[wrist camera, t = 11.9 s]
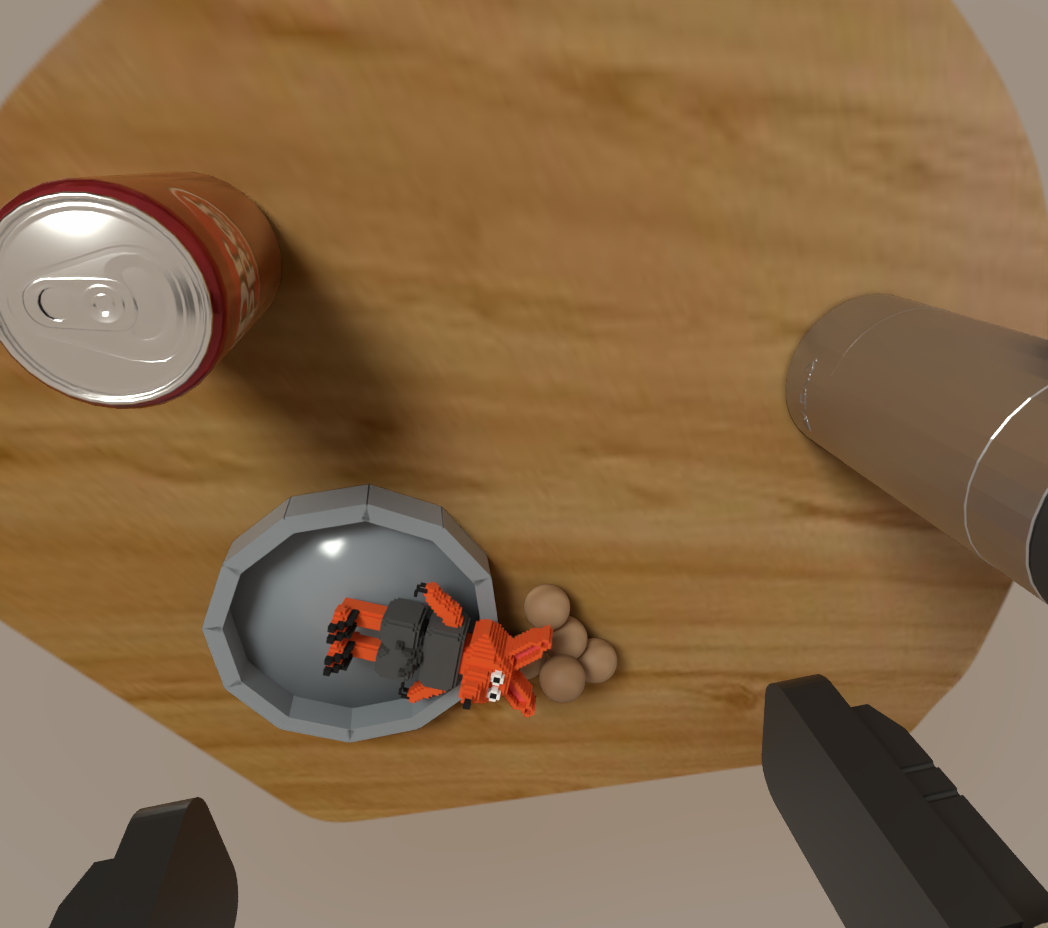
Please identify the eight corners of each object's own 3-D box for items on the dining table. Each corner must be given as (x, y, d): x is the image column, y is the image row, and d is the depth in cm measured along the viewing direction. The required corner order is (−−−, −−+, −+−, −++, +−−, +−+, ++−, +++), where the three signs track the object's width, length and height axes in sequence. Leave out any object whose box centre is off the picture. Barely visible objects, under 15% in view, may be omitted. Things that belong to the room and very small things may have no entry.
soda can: (283, 181, 31) (217, 195, 21) (285, 338, 34) (229, 422, 23) (109, 160, 30) (-59, 162, 19) (126, 325, 33) (-12, 408, 22)
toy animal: (319, 608, 34) (554, 659, 34) (353, 555, 39) (558, 600, 39) (306, 731, 37) (523, 779, 37) (340, 667, 42) (531, 709, 42)
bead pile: (605, 563, 43) (628, 610, 38) (611, 658, 46) (633, 712, 41) (489, 584, 42) (499, 634, 38) (504, 679, 45) (514, 736, 41)
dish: (473, 467, 39) (477, 485, 36) (506, 683, 45) (511, 710, 43) (181, 514, 37) (166, 536, 35) (260, 731, 44) (252, 761, 42)
